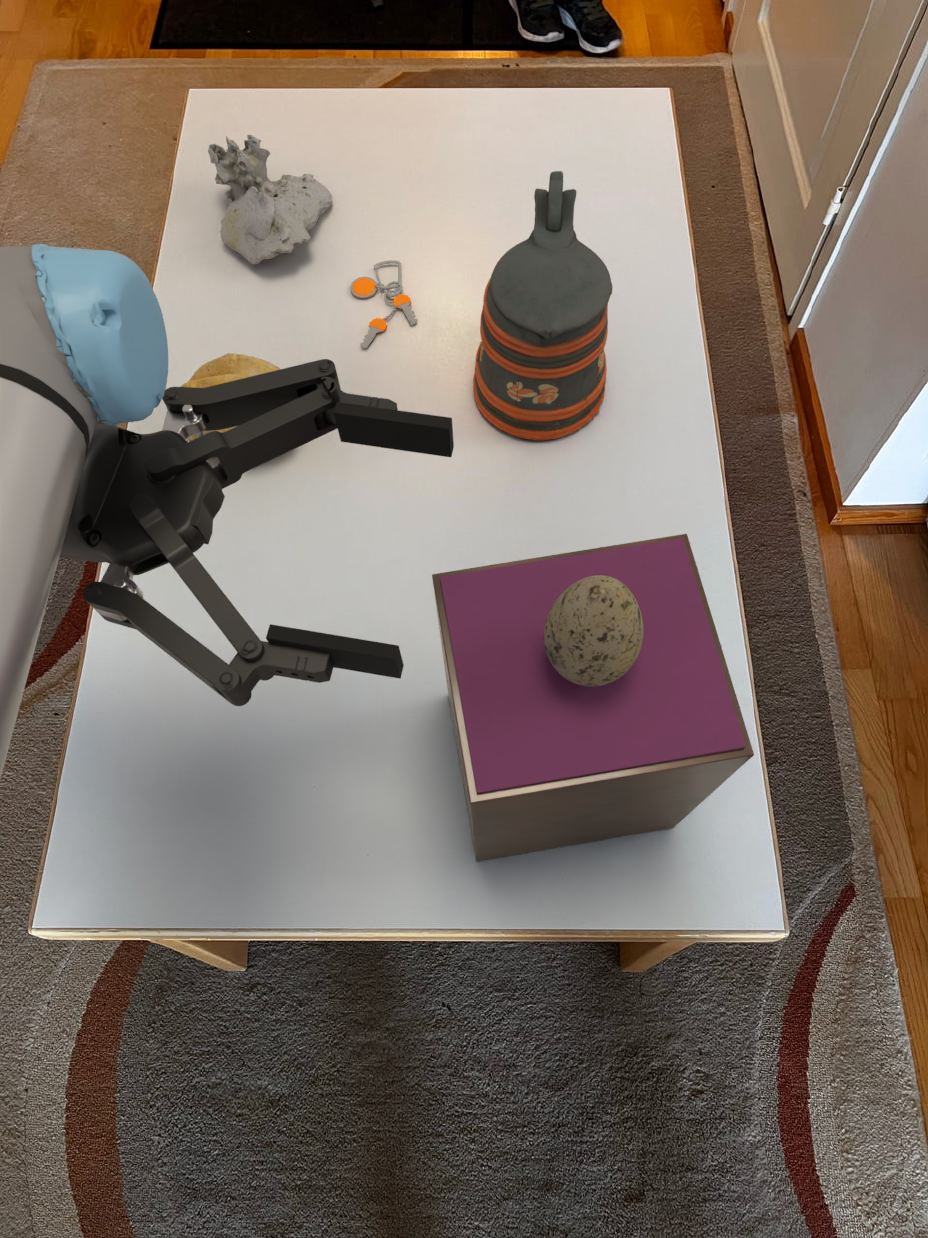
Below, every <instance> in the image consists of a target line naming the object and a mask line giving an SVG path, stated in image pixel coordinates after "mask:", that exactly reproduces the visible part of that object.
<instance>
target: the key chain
mask: <svg viewBox="0 0 928 1238" xmlns="http://www.w3.org/2000/svg"><path fill="white" fill-rule="evenodd" d="M388 264H389V265H390V264H396V265H397V269H398V270H397V281H395V280H394V281H390V282H389V283H387V284H386V285H385V283H382V282H381V278H380V276H379V272H378V267H380V266H383V265H388ZM373 271H374V272H375V275H376V278H377V281H378V282H377V281H376V280H375V279H374V278H372V277H370V276H360V277H357V278H355V279H353V281H352V282H351V284H350V286H349V288H350V293H351V294H352V295H353V296H354V297H356V298H358V299H362V300H363V299H369V298H371V297H374V296H375V294H376V293H377V291H378V289H381V290H383V293H384V294H383V299H384V301H385V302H387V304H393V306H392V311H390V313H389V314H388V315H387V316H385V317H383V318H379V317H377V318H373V319H372V320H370V321H369V324H368V328H369V329H368V330H367V333H366V334H365V335H364V336H363V337H364V338H363V339H362V341H361V342H360V347H361V348H362V349H368V347H369V346H370V344H371V343H372V342H373V340H374V338H375V337H376V335H377V334H379V333H384V332H385V331H386V330H387V326H388V324H387V322H386V321H387V320H388V319H390V318H391V317H392V316H393V315H394V314H395V311H396V309H400V310H402V311H403V313H404V315H405V317H406V319H407V320H408V322H409V324H410V325H411V326H414V325H416V324H417V323H418V318H415V317H416V315H415V311H413V310H412V306H411V304H412V299H411V297H410V296H409V295H407V294H404V293H402V292H403V284H402V262H401V261H400V260H383V261H380V262H377V263H375V264H374V265H373ZM397 288H399V290H398V291H397V290H395V289H397ZM390 293H393V294H390ZM401 293H402V294H401ZM387 297H388V298H393V300H389V299H388V298H387Z"/></svg>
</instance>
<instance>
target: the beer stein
mask: <svg viewBox="0 0 928 1238" xmlns="http://www.w3.org/2000/svg"><path fill="white" fill-rule="evenodd" d="M533 199H534V223H533V224H534V226H533V229H532V231H531V233H530V235H529V237H527V238H526V239H524V240H523V241H521V242H519V243H517V244H515V245H514V246H512V247H511V248H510V249H508V250H507V251H506V252H505V253H504V254H503V255H502V256H501V257H500V258H499V260H498V261H497V262H496V264H495V266H494V268H493V270H492V273H491V275H490V277H489V280H488V282H487V284H486V287H485V289H484V292H483V294H484V295H483V299H482V300H483V301H482V302H483V304H482V310H481V312H480V313H481V314H480V325H479V332H480V334H479V335H480V338H481V341H480V343H479V344H478V348H477V351H476V353H475V363H474V373H473V380H472V381H473V382H472V389H473V390H472V391H473V395H474V400H475V403H476V406H477V407H478V409H479V411H480V413H481V414H482V415H483V417H484V418H485V419H486V420H487V421H488V422H490V423H491V424H492V425H493V426H495V427H496V428H498V429H499V430H501V431H503V432H505V433H507V434H509V435H511V436H514V437H516V438H519V439H524V440H531V441H543V442H544V441H549V440H554V439H560V438H562V437H567V436H569V435H571V434H573V433H574V432H578V431H579V430H580V429H581V428H583V427H584V426H585V425H588V423H589V422H590V421H592V420H593V419H594V418H595V415H598V414H599V413H600V408H601V407H602V403H603V401H604V398H605V394H606V393H605V392H606V383H607V382H606V381H607V370H608V369H607V367H608V366H607V357H606V352H605V347H606V344H607V340H608V335H609V334H608V333H609V332H608V331H609V328H608V327H609V317H608V315H609V314H608V313H609V312H608V311H609V310H608V308H609V307H608V306H609V301H610V299H611V295H612V294H613V283H612V279H611V274H610V271H609V269H608V267H607V265H606V264H605V262H604V261H603V259H602V258H601V257H600V256H599V255H598V254H597V253H596V252H594V250H592V249H591V248H590V247H588V246H587V245H586V244H585V243H582V241H580V240H579V239H578V238H577V233H576V231H575V229H574V219H575V218H574V215H575V204H576V199H577V190H576V189H574V188H572V189H571V188H570V189H565V190H564V172H563V171H561V170H556V171H551V172H550V175H549V183H548V190H547V189H544V188H535V189H534V195H533Z"/></svg>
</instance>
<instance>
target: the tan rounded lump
mask: <svg viewBox="0 0 928 1238" xmlns="http://www.w3.org/2000/svg"><path fill="white" fill-rule="evenodd" d="M280 369H281V368H280V367H278V366H276V365H275V364H273V363H271V362H270V361H267V360H265V359H262V358H258V357H255V356H251V355H247V354H240V353H233V352H228V353H226V354H223V355H221V356H218V357H217V358H214V359H211V360H210V361H207V362H205V363H204V364H202V365H200V366H199V368H198V369H197V370H196V371H195V372H194V373H193V374H192V376H191V377H190V378H189V379H188V381H186V382H185V383H183V384H181V385H180V386H179V387H193V388H205V387H210V386H214V385H218V384H222V383H226V382H230V381H235V380H239V379H243V378H247V377H251V376H255V375H259V374H264V373H268V372H272V371H276V370H280ZM235 427H237V426H235ZM235 427H231V428H227V429H222V430H214V431H218V432H226V431H228V430H230V429H232V428H235ZM209 432H212V431H205V434H207V433H209ZM205 434H204V435H205ZM196 438H198V437H197V436H196V435H191V436H189V437H188V438H187V439H188V440H189V442H190V441H192V440H194V439H196ZM214 458H215V459H216V460H218V458H217V457H214Z"/></svg>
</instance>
